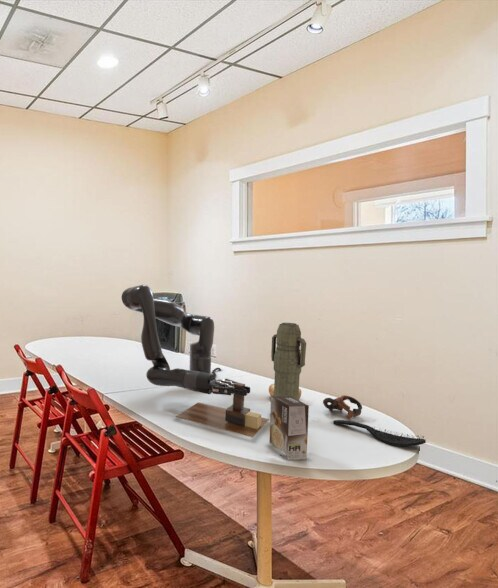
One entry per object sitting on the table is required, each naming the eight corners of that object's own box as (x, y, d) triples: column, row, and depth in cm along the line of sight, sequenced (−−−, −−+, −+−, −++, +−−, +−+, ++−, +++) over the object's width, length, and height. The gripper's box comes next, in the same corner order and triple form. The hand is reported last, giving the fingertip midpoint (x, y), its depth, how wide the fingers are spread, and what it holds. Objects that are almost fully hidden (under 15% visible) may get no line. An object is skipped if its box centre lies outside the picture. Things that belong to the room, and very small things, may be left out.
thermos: (296, 425, 140) (301, 326, 138) (263, 415, 150) (266, 322, 147) (308, 419, 145) (312, 324, 143) (275, 410, 155) (278, 320, 152)
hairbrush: (339, 412, 144) (430, 434, 123) (339, 422, 145) (430, 446, 123) (327, 417, 140) (419, 440, 119) (327, 427, 140) (419, 453, 119)
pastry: (270, 393, 175) (271, 373, 175) (302, 398, 169) (303, 377, 168) (266, 400, 166) (267, 379, 165) (299, 406, 159) (300, 384, 158)
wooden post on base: (231, 415, 144) (234, 380, 143) (249, 419, 140) (251, 383, 139) (225, 420, 139) (227, 384, 138) (243, 425, 135) (245, 388, 134)
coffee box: (308, 459, 115) (310, 405, 114) (287, 460, 115) (289, 406, 114) (287, 445, 124) (289, 395, 123) (267, 446, 124) (269, 395, 123)
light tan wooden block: (248, 422, 139) (248, 411, 138) (260, 425, 136) (261, 414, 136) (244, 426, 136) (245, 414, 135) (257, 429, 133) (257, 417, 133)
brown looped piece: (348, 411, 155) (360, 397, 150) (356, 430, 147) (368, 415, 142) (315, 401, 157) (326, 387, 152) (321, 419, 149) (333, 405, 145)
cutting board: (197, 406, 159) (197, 402, 159) (269, 423, 142) (269, 419, 142) (175, 420, 144) (175, 416, 144) (252, 441, 127) (252, 437, 127)
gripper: (191, 375, 142) (242, 385, 131) (206, 368, 153) (255, 376, 141) (190, 396, 143) (241, 407, 131) (206, 387, 153) (254, 397, 142)
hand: (248, 391), depth 136 cm, fingers closed on wooden post on base, 3 cm apart
